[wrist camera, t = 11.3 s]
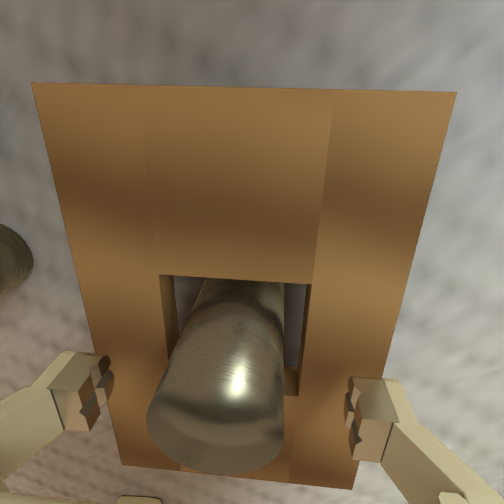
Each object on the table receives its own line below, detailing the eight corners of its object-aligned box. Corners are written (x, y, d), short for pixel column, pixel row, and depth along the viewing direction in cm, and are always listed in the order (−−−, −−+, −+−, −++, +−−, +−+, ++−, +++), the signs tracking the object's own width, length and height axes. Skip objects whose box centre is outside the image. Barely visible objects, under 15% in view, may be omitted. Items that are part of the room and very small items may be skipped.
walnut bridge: (123, 88, 15) (30, 82, 9) (390, 95, 14) (457, 92, 9) (161, 377, 23) (121, 464, 17) (334, 392, 22) (352, 489, 16)
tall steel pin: (213, 233, 18) (138, 374, 9) (286, 238, 17) (289, 388, 8) (214, 295, 19) (153, 467, 10) (281, 300, 19) (279, 481, 10)
